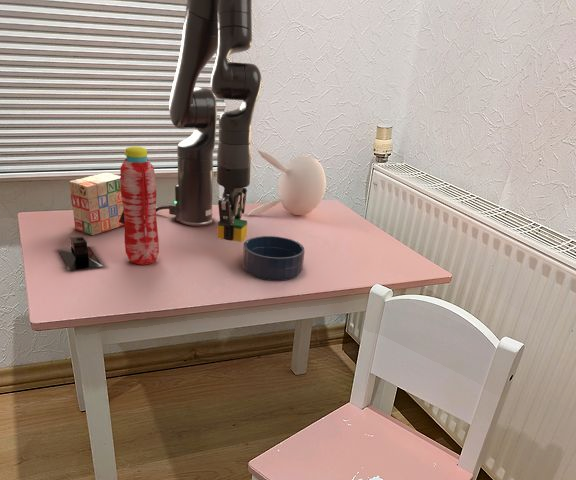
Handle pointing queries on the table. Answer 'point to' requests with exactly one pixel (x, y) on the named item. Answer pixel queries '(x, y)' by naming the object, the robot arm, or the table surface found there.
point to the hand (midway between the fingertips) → (231, 236)
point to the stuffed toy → (297, 185)
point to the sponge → (239, 230)
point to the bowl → (273, 258)
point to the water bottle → (139, 207)
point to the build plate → (80, 255)
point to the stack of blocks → (97, 203)
